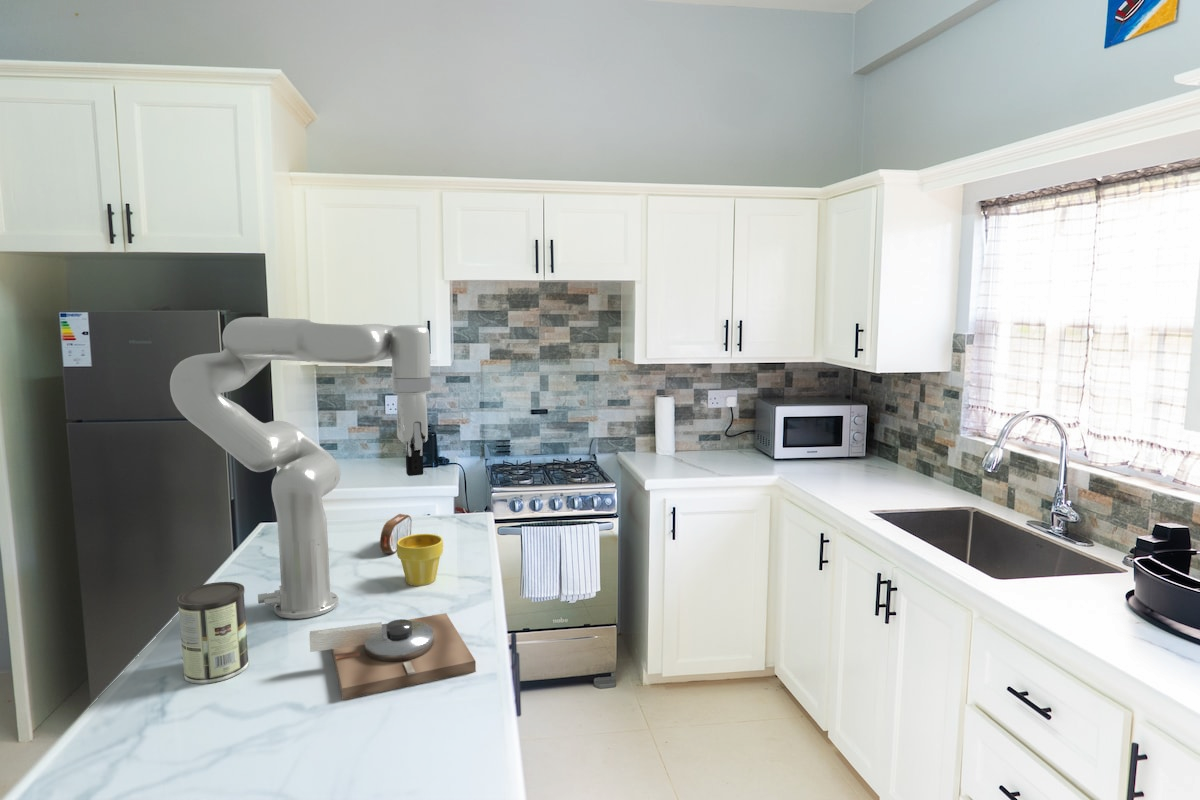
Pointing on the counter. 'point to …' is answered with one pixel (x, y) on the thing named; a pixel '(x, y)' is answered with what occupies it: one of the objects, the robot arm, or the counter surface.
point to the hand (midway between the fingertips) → (414, 474)
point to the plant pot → (420, 557)
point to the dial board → (404, 663)
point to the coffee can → (213, 632)
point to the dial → (378, 639)
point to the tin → (394, 532)
